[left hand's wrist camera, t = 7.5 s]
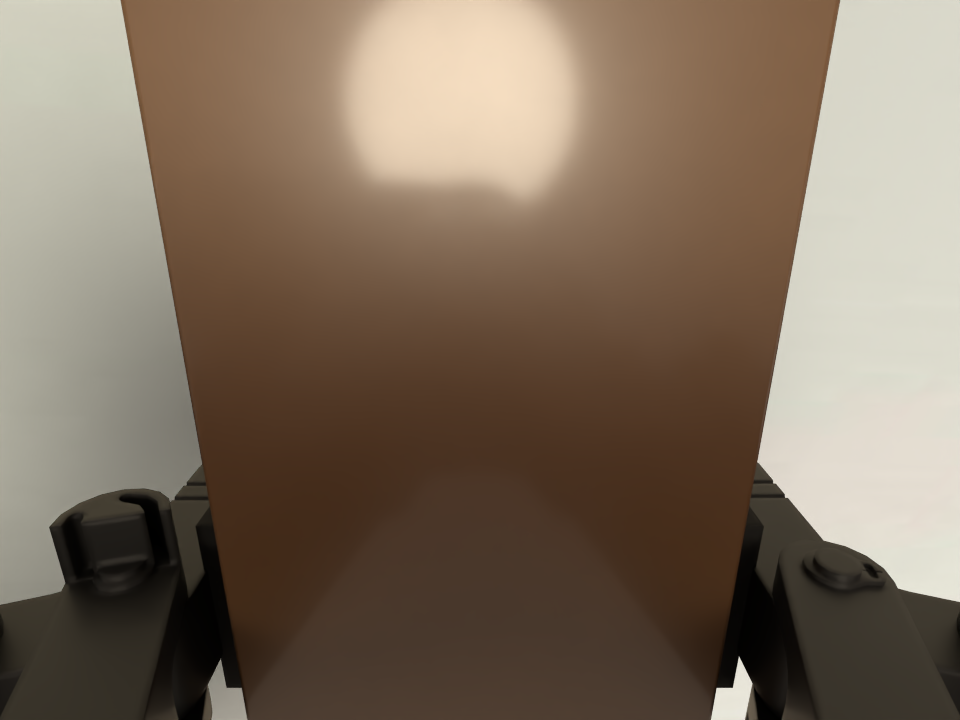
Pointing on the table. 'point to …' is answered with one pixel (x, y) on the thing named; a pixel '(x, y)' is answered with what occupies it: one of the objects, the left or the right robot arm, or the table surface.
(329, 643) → the thick board
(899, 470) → the table surface
